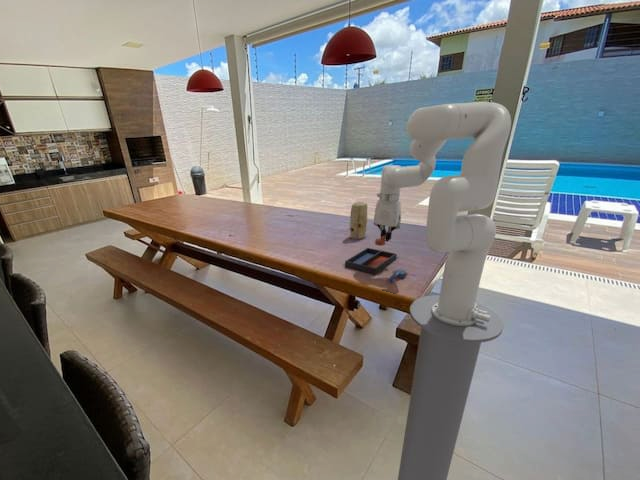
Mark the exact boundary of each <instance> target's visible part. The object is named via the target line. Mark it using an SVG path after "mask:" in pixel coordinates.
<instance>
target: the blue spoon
mask: <svg viewBox="0 0 640 480" xmlns="http://www.w3.org/2000/svg"><path fill="white" fill-rule="evenodd" d="M406 274H407V271H406V270H403V269H396V270H395V271H394V274H393V275H391V276H390V277H389V284H390V285H392V284H393V283H394V280H395V279H397V278H398V279H404V278H406V276H407V275H406Z"/></svg>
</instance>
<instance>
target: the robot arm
mask: <svg viewBox="0 0 640 480" xmlns="http://www.w3.org/2000/svg"><path fill="white" fill-rule="evenodd" d="M405 129H406V130H405V131H406V135H407V136H408V138H410V139H411V140H412V141H411V143H410V144H409V152H410V155H411V156H412V157H413V158H414V159H415V160H416V161H418V162H419V164H417V165H407V166H401V165H397V164H395V165H394V164H389V165H384V166H383V167H382V168H381V179H380V191H379V192H378V193H377V194H376V197H378V198H379V199H377V202H376V205H375V209H374V215H373V225H374V226H375V227H377V228H378V229H379V231H380V238H381V237H382V236H384V235H386V238H385V242H390V241H391V240H392V234H393V233H392V232H393V231H395V230H398V229H399V230H400V229H401V228H402V225H401V222H402V202H401V200H400V194H401V188H411V187H412V188H413V187H419V186H421V185H423V184H424V183H426V181H427V180H429V178H430V177H431V176H432V175H433V173H434V172H435V168H436V163H437V158H436V155H437V154H438V152H439V151H440V150H441V149H442V147H443V146H444V145H445V144H446V143H447V141H451V140H465V139H474V140H473V141H472V142H471V143H470V144H469V146H468V147H467V149H466V151H465V152H464V154H463V156H462V161H461V169H460V173H459V174H452V175H446V176H443V177H441V178H439V179H437V181H436V182H434V184H433V186H432V188H431V190H430V193H429V198H428V207H427V215H426V217H427V218H426V225H425V226H426V227H425V241H426V244H427V246H428V248H429V249H430V250H431V251H432V252H435V253H439V254H442V253H444V254H445V253H448V255H447V257H446V259H445V262H444V263H445V264H444V269H443V275H442V279H441V286H440V291H439V295H440V296H439V302H438V303H437V304H435V305H433V307H432V314H433V315H434V316H435V317H436V318H437V319H439V320H440V321H442V322H445V323H447V324H451V325H456V326H470V325H473V324H475V323H476V322H477V320H478V319H481V320H483V321H486V322H489V321H490V317H491V316H489V315H487V311H482V310H479V309H478V308H477V303H478V302H477V303H475V302H476V301H477V296H478V292H479V287H480V284H481V279H482V275H483V273H484V272H483V271H484V267H485V264H486V260H487V256H488V254H489V251H490V250H491V247H492V245H493V243H494V241H495V239H496V234H497V226H496V224H495V222H494V220H493V219H492V218H491V217H489V216H487V215H485V214H478V213H476V214H475V213H471V214H463V215H458V213H462V212H471V211H478V210H484V209H487V208H489V207H490V206H491V205H492V204H493V203H494V201H495V198H496V194H497V189H498V184H499V179H500V173H501V168H502V161H503V155H504V151H505V148H506V144H507V142H508V139H509V136H510V132H511V129H512V117H511V114H510V112H509V110H508V108H506V107H505V106H504V105H503V104H500V103H497V102H492V101H473V102H456V103H455V102H454V103H443V104H437V105H431V106H426V107H419V108H416V110H414V111H413V112H412V113H411V115H410V116H409V118H408V120H407V122H406V128H405ZM386 227H387V229H386Z"/></svg>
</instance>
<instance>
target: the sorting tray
mask: <svg viewBox="0 0 640 480" xmlns="http://www.w3.org/2000/svg"><path fill="white" fill-rule="evenodd" d="M396 260H397V253H394V252H390V251H384V250H380V249H375V248H371V247H367V248H364V249H363V250H361V251H360V252H358V253H357V254H355V255H353V256H351V257H349V258H348V259H346V260H345V262H344V267H345V268H347V269H350V270H354V271H357V272H362V273H365V274H369V275H373V276H376V275H378V274H379V273H380V272H382V271H383V270H384V269H386V268H387V267H388V266H390V265H391V264H392V263H394V262H395V261H396Z"/></svg>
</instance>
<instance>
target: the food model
mask: <svg viewBox="0 0 640 480" xmlns="http://www.w3.org/2000/svg"><path fill="white" fill-rule="evenodd" d="M367 225H368V203H367V202H364V201H356V202H354V203H352V205H351V207H350V216H349V234H350V239H358V240H361V239H364V238H365V237H366V234H367Z"/></svg>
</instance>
